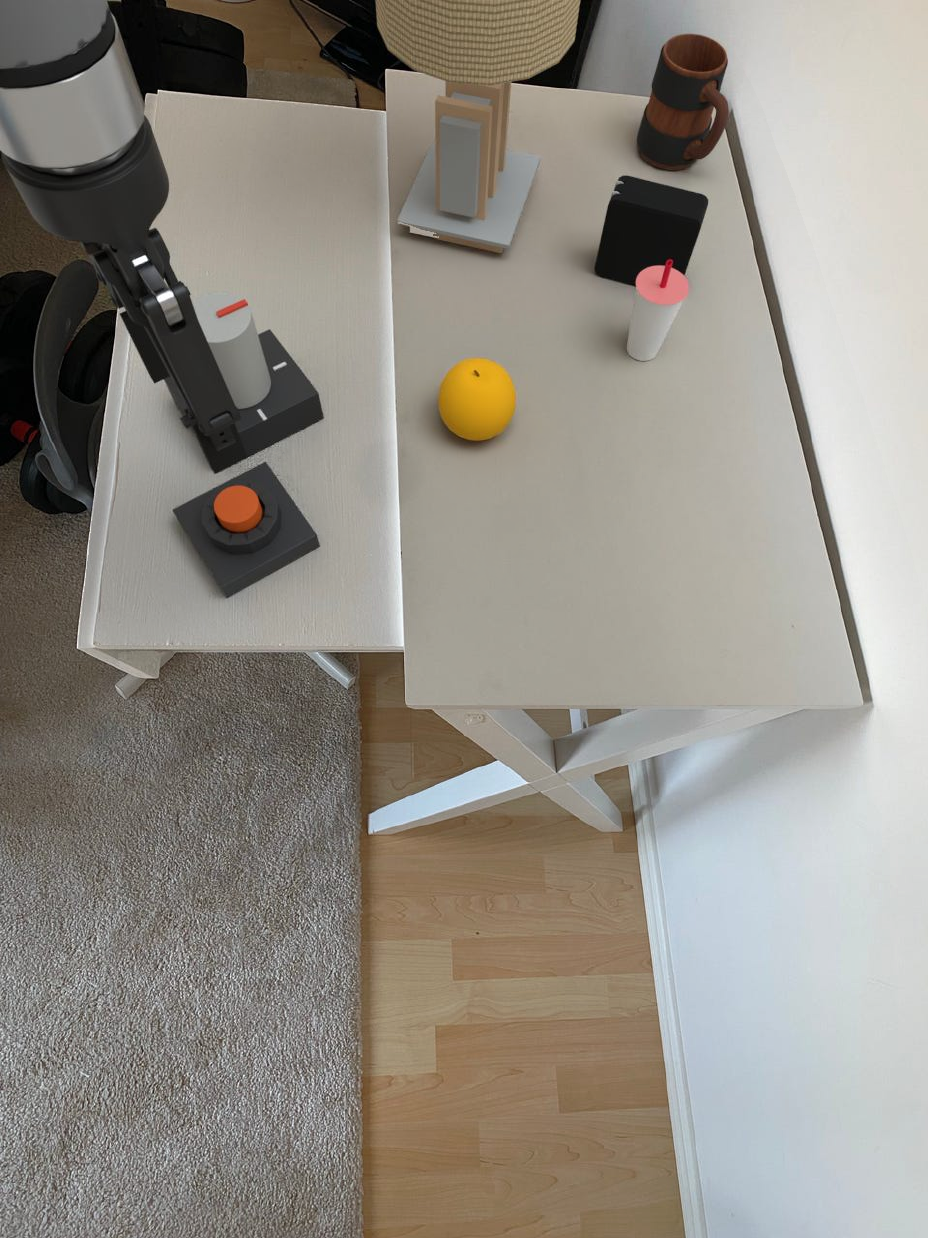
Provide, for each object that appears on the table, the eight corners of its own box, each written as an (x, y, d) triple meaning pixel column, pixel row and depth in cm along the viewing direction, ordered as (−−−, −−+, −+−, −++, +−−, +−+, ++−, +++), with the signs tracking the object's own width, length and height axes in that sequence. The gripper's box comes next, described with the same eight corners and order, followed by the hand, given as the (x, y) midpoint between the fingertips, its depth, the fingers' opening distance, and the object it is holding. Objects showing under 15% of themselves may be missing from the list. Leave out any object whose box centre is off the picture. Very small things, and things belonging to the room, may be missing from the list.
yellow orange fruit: (504, 460, 80) (509, 412, 74) (429, 443, 81) (428, 394, 74) (520, 399, 84) (527, 348, 77) (448, 384, 84) (449, 332, 77)
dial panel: (220, 472, 79) (209, 446, 75) (175, 404, 82) (162, 376, 78) (324, 419, 82) (318, 392, 78) (276, 355, 85) (269, 326, 81)
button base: (227, 598, 73) (215, 578, 70) (178, 521, 76) (165, 498, 73) (320, 546, 76) (314, 524, 72) (270, 474, 79) (261, 449, 75)
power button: (231, 540, 72) (226, 530, 70) (211, 508, 73) (205, 498, 71) (270, 519, 73) (266, 509, 71) (249, 488, 74) (245, 478, 72)
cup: (634, 374, 85) (662, 286, 74) (608, 340, 87) (632, 249, 76) (675, 357, 87) (709, 268, 76) (649, 324, 88) (678, 232, 77)
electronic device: (676, 297, 90) (703, 221, 81) (592, 275, 91) (609, 197, 82) (684, 272, 92) (711, 195, 83) (601, 250, 93) (619, 172, 84)
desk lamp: (416, 138, 100) (404, -255, 68) (566, 169, 99) (626, -219, 66) (368, 243, 93) (328, -145, 60) (529, 279, 91) (577, -101, 59)
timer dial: (227, 418, 77) (200, 349, 68) (199, 378, 79) (170, 306, 70) (281, 392, 78) (262, 321, 70) (253, 353, 80) (231, 279, 72)
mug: (674, 197, 97) (703, 102, 86) (622, 139, 101) (643, 41, 91) (731, 176, 99) (766, 80, 88) (677, 120, 103) (704, 22, 92)
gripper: (-78, 39, 42) (91, 343, 63) (92, 296, 35) (221, 545, 56) (56, -4, 44) (177, 305, 65) (243, 231, 37) (313, 495, 57)
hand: (197, 416), depth 60 cm, fingers open, 9 cm apart
